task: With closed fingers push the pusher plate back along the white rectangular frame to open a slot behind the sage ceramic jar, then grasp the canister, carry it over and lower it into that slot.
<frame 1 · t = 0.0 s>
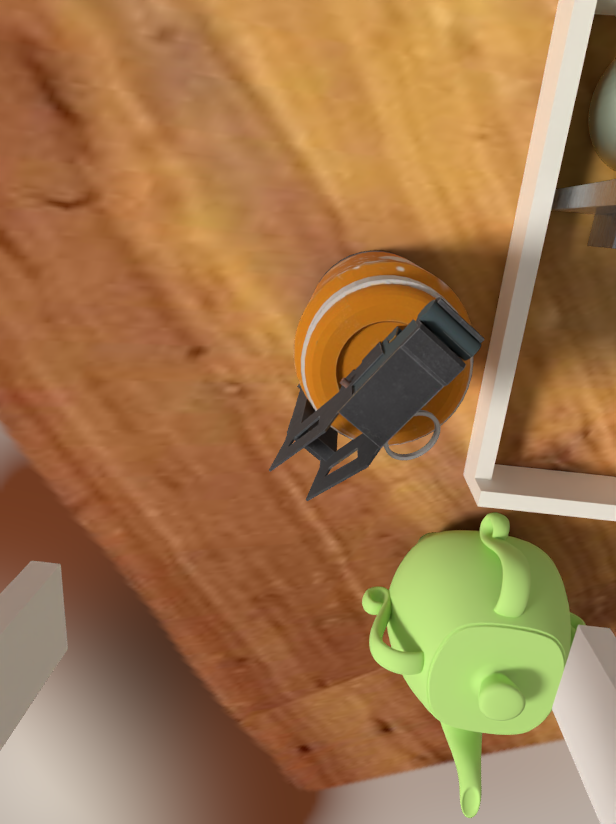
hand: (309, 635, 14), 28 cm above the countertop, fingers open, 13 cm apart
teapot: (459, 590, 46), on the countertop
canister: (362, 324, 39), on the countertop
white rectangular frame: (611, 276, 37), on the countertop
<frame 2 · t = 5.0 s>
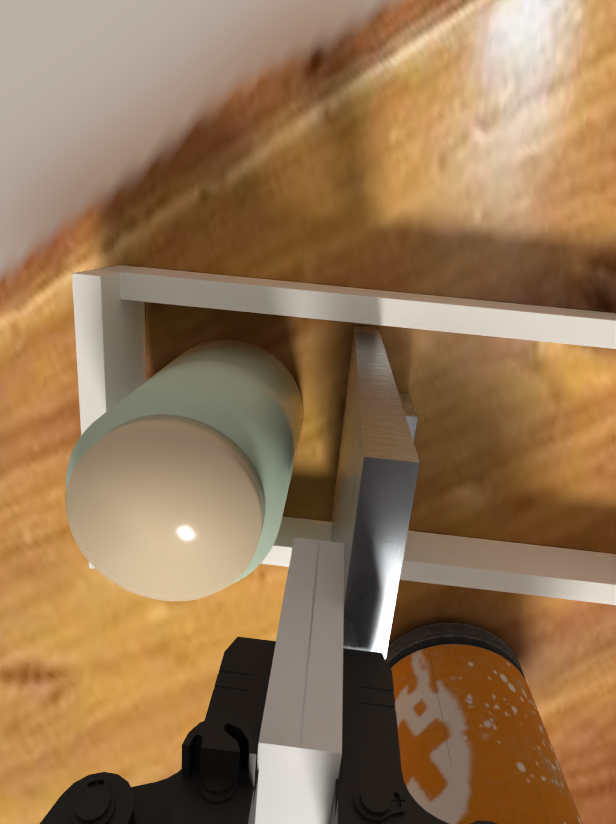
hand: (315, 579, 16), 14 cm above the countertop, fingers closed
canister: (456, 679, 34), on the countertop
white rectangular frame: (418, 432, 28), on the countertop
pusher: (381, 503, 21), point 8 cm above the countertop, slide at 0.9 cm, touching gripper
jar: (229, 412, 29), resting in white rectangular frame
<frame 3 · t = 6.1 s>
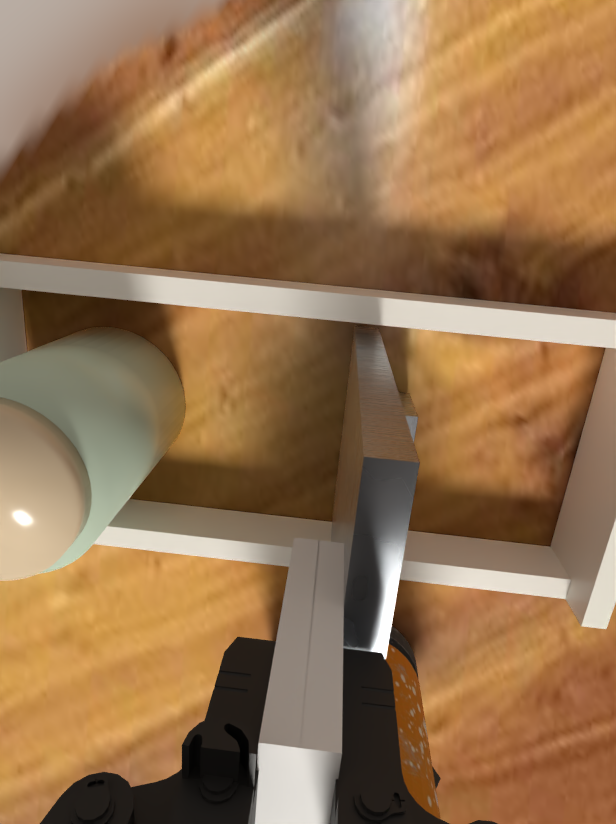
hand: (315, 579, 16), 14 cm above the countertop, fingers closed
canister: (355, 666, 34), on the countertop
white rectangular frame: (298, 419, 29), on the countertop
pusher: (382, 503, 21), point 8 cm above the countertop, slide at 7.4 cm, touching gripper
jar: (113, 399, 29), resting in white rectangular frame
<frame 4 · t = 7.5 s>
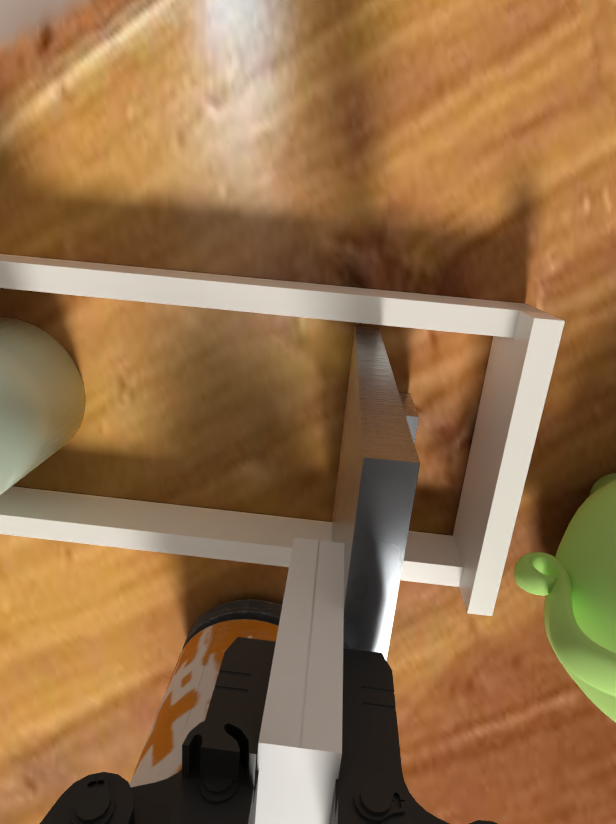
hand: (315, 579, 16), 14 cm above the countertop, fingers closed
canister: (270, 657, 34), on the countertop
white rectangular frame: (197, 409, 29), on the countertop
pusher: (382, 504, 21), point 8 cm above the countertop, slide at 12.9 cm, touching gripper
jar: (14, 389, 29), resting in white rectangular frame
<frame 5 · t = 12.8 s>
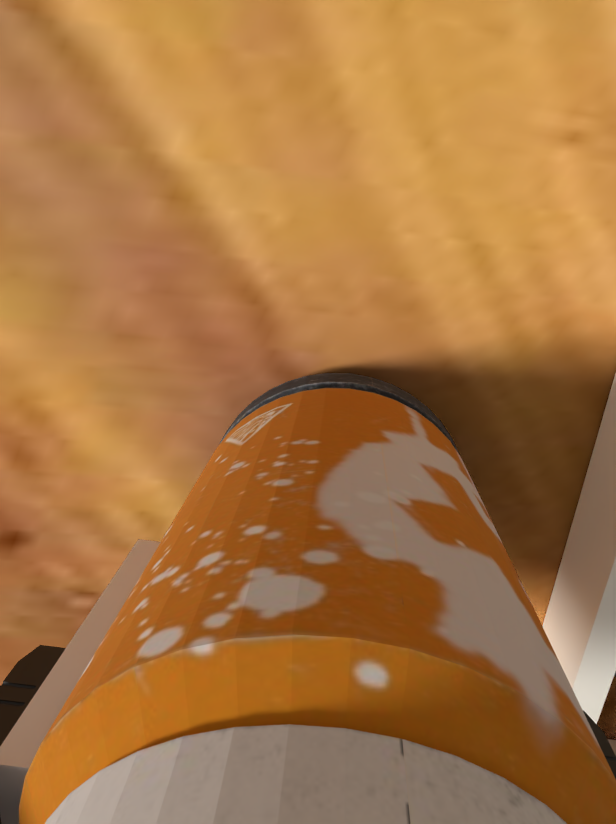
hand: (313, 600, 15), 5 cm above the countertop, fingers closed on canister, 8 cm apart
canister: (318, 501, 20), on the countertop, touching gripper
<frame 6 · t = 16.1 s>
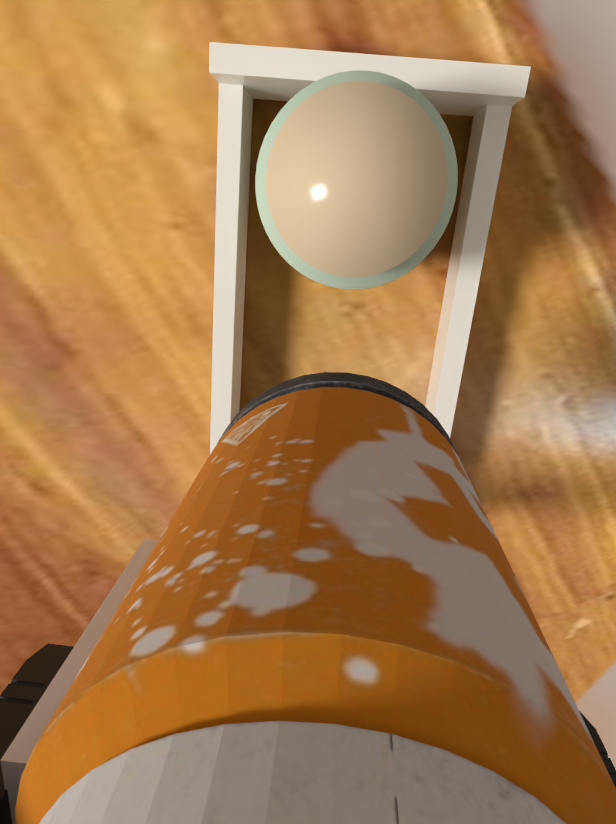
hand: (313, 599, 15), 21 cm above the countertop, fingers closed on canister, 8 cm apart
canister: (316, 500, 20), point 15 cm above the countertop, touching gripper
white rectangular frame: (335, 370, 34), on the countertop
jar: (352, 198, 31), resting in white rectangular frame
when the fingers open (7 cm above the countertop, at t = 18.9 s): canister drops 1 cm, resting in white rectangular frame.
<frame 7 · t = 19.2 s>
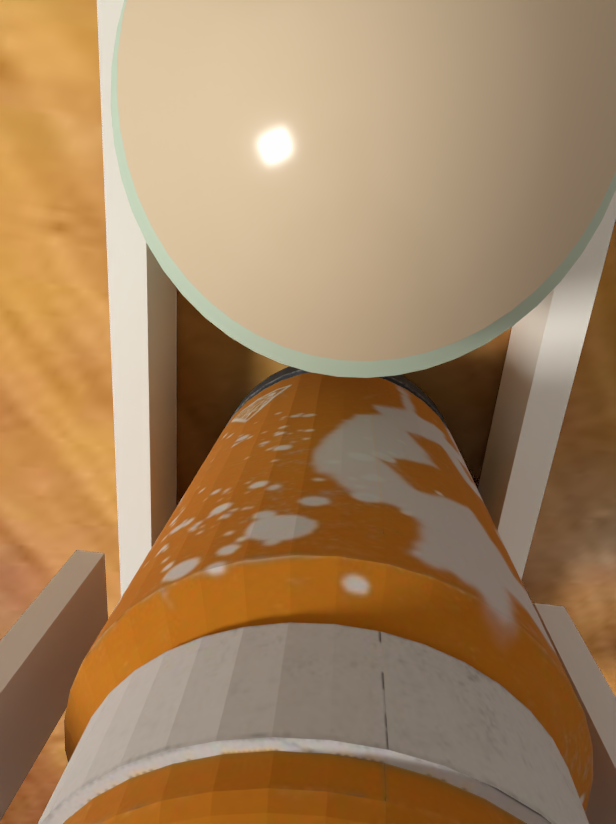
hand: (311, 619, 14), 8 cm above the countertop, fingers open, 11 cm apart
canister: (319, 479, 22), resting in white rectangular frame
white rectangular frame: (326, 460, 21), on the countertop
jar: (356, 179, 18), resting in white rectangular frame
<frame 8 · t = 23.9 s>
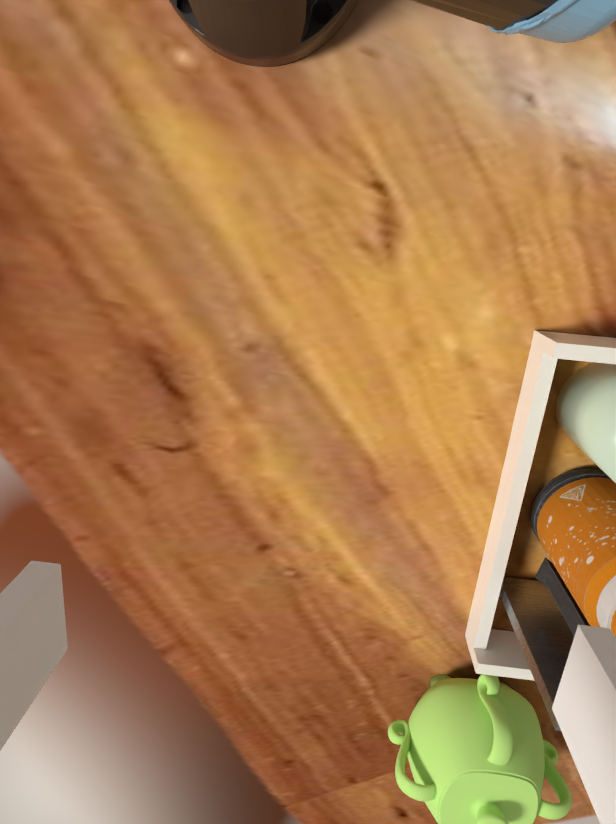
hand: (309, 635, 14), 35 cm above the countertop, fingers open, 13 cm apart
teapot: (461, 714, 59), on the countertop
canister: (568, 515, 50), resting in white rectangular frame
white rectangular frame: (573, 507, 50), on the countertop
pusher: (583, 657, 45), point 8 cm above the countertop, slide at 13.2 cm
jar: (603, 404, 46), resting in white rectangular frame
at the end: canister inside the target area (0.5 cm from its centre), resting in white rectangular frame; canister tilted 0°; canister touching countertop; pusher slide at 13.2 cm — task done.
